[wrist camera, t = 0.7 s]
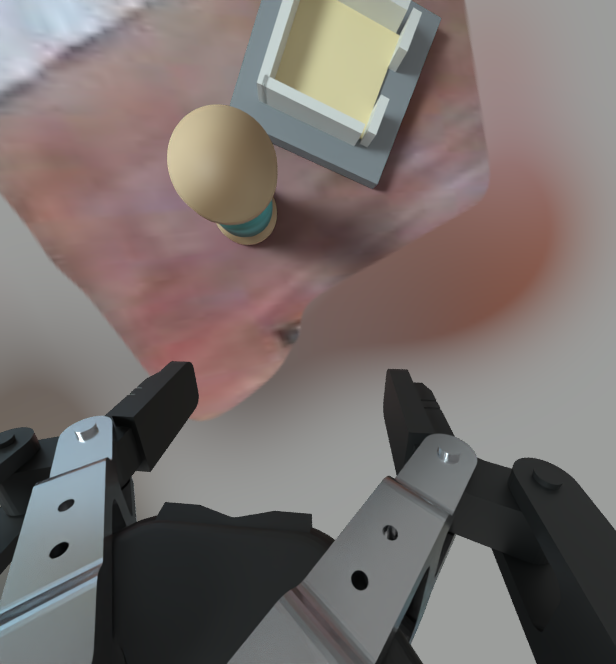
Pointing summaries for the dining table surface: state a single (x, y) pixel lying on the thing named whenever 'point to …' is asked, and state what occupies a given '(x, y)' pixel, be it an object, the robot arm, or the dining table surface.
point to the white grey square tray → (335, 78)
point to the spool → (226, 171)
